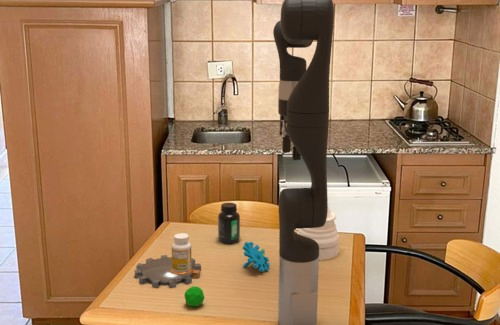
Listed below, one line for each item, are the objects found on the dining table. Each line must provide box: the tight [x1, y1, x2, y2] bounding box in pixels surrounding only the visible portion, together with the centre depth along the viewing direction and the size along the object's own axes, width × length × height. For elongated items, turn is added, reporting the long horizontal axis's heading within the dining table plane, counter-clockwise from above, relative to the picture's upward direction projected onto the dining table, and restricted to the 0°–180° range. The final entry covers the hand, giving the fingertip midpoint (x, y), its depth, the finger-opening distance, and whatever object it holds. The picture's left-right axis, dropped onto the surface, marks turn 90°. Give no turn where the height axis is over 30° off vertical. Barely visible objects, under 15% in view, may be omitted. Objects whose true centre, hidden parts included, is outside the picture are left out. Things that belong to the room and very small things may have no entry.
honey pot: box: [296, 207, 340, 261], centre depth 191 cm, size 13×13×18 cm
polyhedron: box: [184, 285, 205, 308], centre depth 159 cm, size 5×5×5 cm
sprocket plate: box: [134, 254, 202, 289], centre depth 177 cm, size 18×18×2 cm
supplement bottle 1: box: [171, 232, 192, 272], centre depth 175 cm, size 5×5×10 cm
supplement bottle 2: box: [217, 202, 241, 245], centre depth 199 cm, size 7×7×12 cm
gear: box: [242, 241, 271, 273], centre depth 181 cm, size 11×6×10 cm
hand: (291, 156), depth 173 cm, fingers open, 8 cm apart
